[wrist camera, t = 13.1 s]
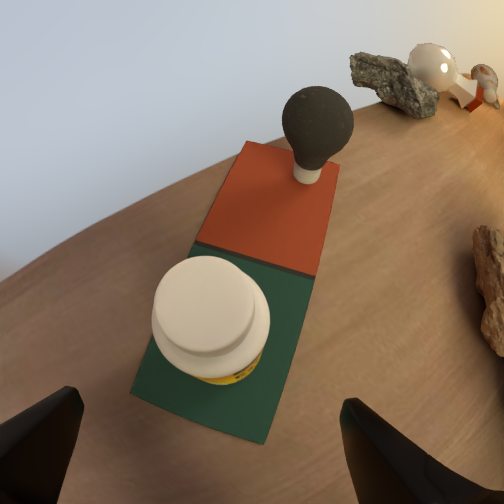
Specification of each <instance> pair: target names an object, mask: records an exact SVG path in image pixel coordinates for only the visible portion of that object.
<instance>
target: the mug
mask: <svg viewBox="0 0 504 504" xmlns="http://www.w3.org/2000/svg"><path fill="white" fill-rule="evenodd" d="M471 78H472V80H478V81H477V87H480V88H484V94H483V100H484V101H486V102H488V103H493V104H494V105H495V107H496V108H497V109H500V105H499V102H498V99H497V94H496V90H497V87H498V78H497V75H496V73H495V72H494V71H493V69H492V68H490V67H489V66H487V65H484V64H478V65H476V66H474V67H473V69H472V70H471Z"/></svg>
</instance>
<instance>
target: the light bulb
mask: <svg viewBox="0 0 504 504" xmlns="http://www.w3.org/2000/svg"><path fill="white" fill-rule="evenodd" d="M282 126H283V130H284V134H285V136H286V138H287V140H288V142H289V144H290V145H291V147H292V149H293V155H294V160H295V163H294V173H293V174H294V177H295V178H296V179H297V180H298V181H299V182H301V183H304V184H312V183H315V182H316V181H317V180H318V178H319V176H320V173H321V170H322V167H323V166H324V165H325V163H326V162H327V160H328V159H329V158H330V157H331V156H333V155H334V154H336V153H337V152H339V151H340V150H341V149H342V148H343V147H344V146H345V145H346V144H347V143H348V141H349V139H350V137H351V135H352V132H353V128H354V119H353V113H352V111H351V108H350V106H349V104H348V103H347V101H346V100H345V99H344V98H343V97H342V96H341V95H340V94H338V93H337V92H335V91H334V90H332V89H329V88H327V87H322V86H311V87H307V88H303V89H301V90H300V91H298V92H296V93H295V94H294V95H292V96H291V98H290V99H289V100H288V102H287V103H286V105H285V107H284V110H283V114H282Z"/></svg>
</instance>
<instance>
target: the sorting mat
mask: <svg viewBox="0 0 504 504" xmlns="http://www.w3.org/2000/svg"><path fill="white" fill-rule="evenodd" d="M294 163H295V160H294V155H293V151H289V150H285V149H281V148H277V147H273V146H268V145H264V144H260V143H255V142H251V141H246V142H245V145H244V146H243V148H242V150H241V152H240V154H239V156H238V157H237V159H236V161H235V163H234V165H233V167H232V169H231V171H230V173H229V175H228V176H227V178H226V180H225V182H224V184H223V186H222V188H221V190H220V192H219V194H218V196H217V198H216V200H215V202H214V204H213V206H212V208H211V210H210V212H209V214H208V216H207V218H206V220H205V222H204V224H203V226H202V228H201V230H200V232H199V234H198V237H197V239H196V241H195V243H194V245H193V247H192V249H191V251H190V253H189V256H188V258H187V259H189V258H192V257H197V256H213V257H218V258H222V259H224V260H227V261H229V262H231V263H232V264H234V265H235V266H236V267H238V268H239V269H240V270H241V271H242V272H244V273H245V274H247V275H248V276H249V277H251V278H252V279H253V280H254V281H255V282H256V284H257V285H258V286H259V287H260V289H261V291H262V292H263V294H264V296H265V298H266V301H267V304H268V307H269V313H270V327H269V333H268V337H267V341H266V343H265V346H264V349H263V351H262V354H261V356H260V359H259V361H258V363H257V365H256V367H255V368H254V370H253V371H252V372H251V373H250V374H249V375H248V376H247V377H245V378H244V379H242V380H240V381H238V382H235V383H232V384H227V385H216V384H211V383H207V382H205V381H203V380H200V379H198V378H196V377H194V376H191V375H189V374H187V373H185V372H183V371H181V370H180V369H178V368H177V367H175V366H174V365H173V364H172V363H170V362H169V361H168V360H167V359H166V358H165V356H164V355H163V354H162V352H161V351H160V349H159V347H158V346H157V343H156V341H155V338H154V335H153V337H152V339H151V342H150V344H149V346H148V349H147V351H146V354H145V356H144V359H143V361H142V364H141V366H140V369H139V371H138V374H137V376H136V379H135V382H134V384H133V387H132V389H131V392H130V393H131V394H133V395H135V396H137V397H139V398H141V399H143V400H145V401H147V402H149V403H151V404H153V405H156V406H158V407H160V408H162V409H165V410H167V411H169V412H171V413H174V414H176V415H179V416H181V417H184V418H186V419H189V420H191V421H194V422H196V423H199V424H201V425H204V426H207V427H210V428H212V429H215V430H218V431H221V432H224V433H227V434H230V435H233V436H236V437H239V438H243V439H246V440H249V441H253V442H256V443H260V444H263V445H264V443H265V440H266V437H267V434H268V432H269V429H270V426H271V423H272V420H273V417H274V414H275V412H276V409H277V406H278V403H279V400H280V397H281V394H282V391H283V388H284V384H285V381H286V378H287V375H288V372H289V369H290V365H291V362H292V359H293V356H294V352H295V349H296V346H297V342H298V339H299V335H300V332H301V328H302V325H303V321H304V318H305V314H306V310H307V307H308V303H309V299H310V296H311V292H312V288H313V284H314V280H315V276H316V272H317V268H318V264H319V260H320V256H321V252H322V247H323V243H324V239H325V235H326V230H327V226H328V221H329V216H330V212H331V207H332V202H333V197H334V193H335V188H336V183H337V177H338V172H339V167H340V165H339V164H335V163H332V162H329V161H327V162H326V163H325V165H324V166H323V167H322V170H321V173H320V176H319V178H318V180H317V181H316V182H315V183H312V184H304V183H301V182H299V181H298V180H297V179H296V178H295V177H294V174H293V173H294Z"/></svg>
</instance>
